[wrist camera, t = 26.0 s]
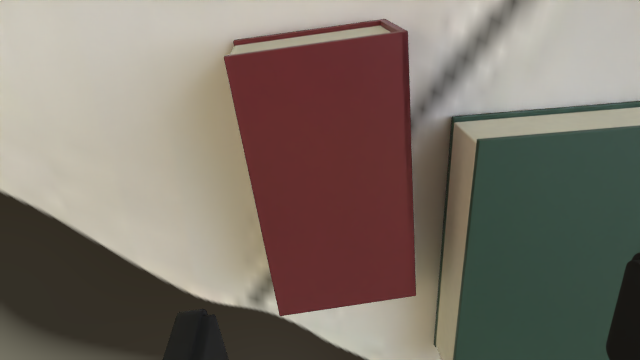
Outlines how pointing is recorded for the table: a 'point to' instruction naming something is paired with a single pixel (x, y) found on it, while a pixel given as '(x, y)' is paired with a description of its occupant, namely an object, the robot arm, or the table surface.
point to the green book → (537, 231)
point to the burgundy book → (329, 161)
